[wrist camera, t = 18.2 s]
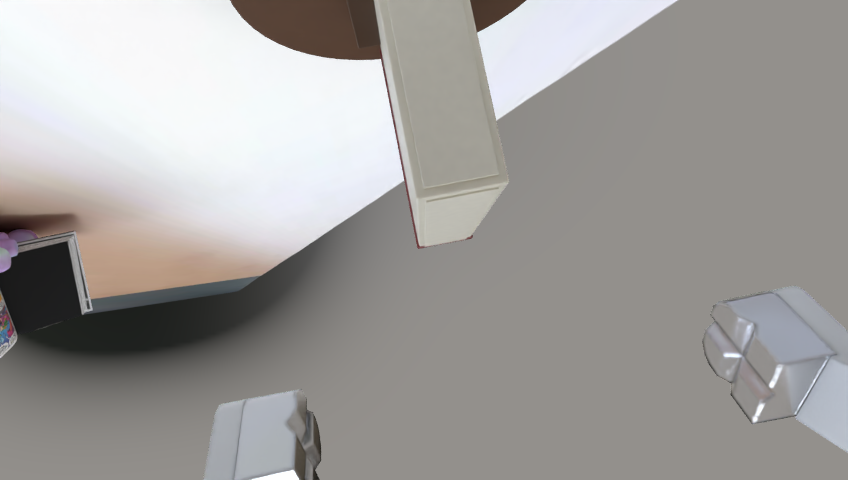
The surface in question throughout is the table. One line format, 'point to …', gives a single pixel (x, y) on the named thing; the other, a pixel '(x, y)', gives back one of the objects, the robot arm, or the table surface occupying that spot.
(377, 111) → the table surface
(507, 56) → the table surface
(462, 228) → the upright block on disc
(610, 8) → the table surface
